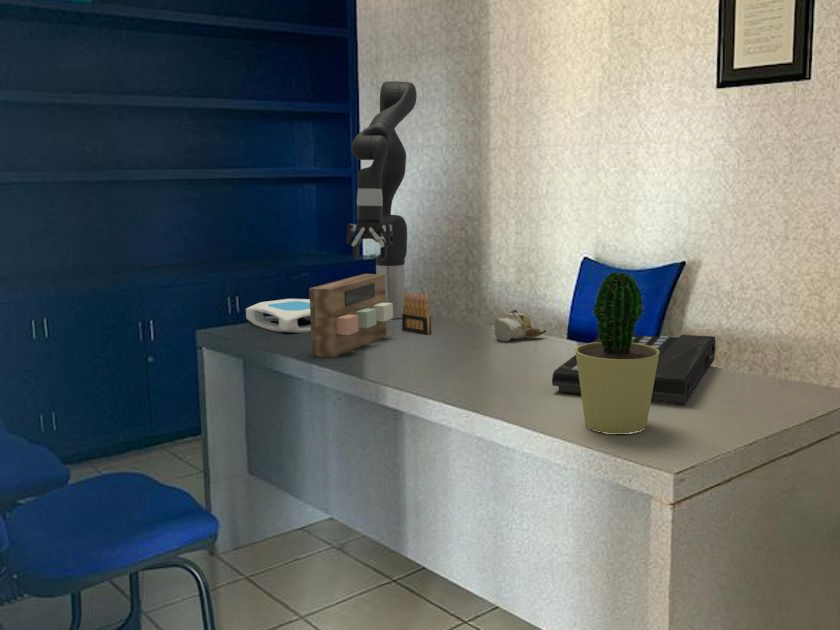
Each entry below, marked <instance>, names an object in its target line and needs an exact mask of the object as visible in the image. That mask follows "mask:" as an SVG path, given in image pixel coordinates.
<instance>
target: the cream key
mask: <svg viewBox="0 0 840 630" xmlns="http://www.w3.org/2000/svg"><path fill="white" fill-rule="evenodd" d="M372 309H376V321H383V322H384V321H386V322H387V321H389V320H393V319H392V318H393V303H382V302H379V303H376V304H373V305H372Z"/></svg>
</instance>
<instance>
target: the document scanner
mask: <svg viewBox="0 0 840 630" xmlns="http://www.w3.org/2000/svg"><path fill="white" fill-rule="evenodd" d="M264 314H268V315H269V316H265V315H264ZM245 316H246V320H248V321H249V322H250V323H251V324H253V325H254V326H256V327H260V328H262V329H266V330H269V331H272V332H278V333H290V334H291V333H292V334H293V333H294V334H296V333H297V334H303V333H309V332H310V333H311V324H307V325H299V323H298V320H300V318H306V319H307V320H306V319H305V320H306V321H309V320H310V322H311V318H310V298H308V299H307V298H284V299H276V300H269V301H261V302H258V303H256V304H253V305H251V306H249V307H246V308H245ZM270 321H275V322H278V323H275V322H270Z"/></svg>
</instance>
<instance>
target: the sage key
mask: <svg viewBox="0 0 840 630" xmlns="http://www.w3.org/2000/svg"><path fill="white" fill-rule="evenodd" d="M355 315H358V325H359V328H369V327H371V326H374V325H376V309H370V308H361V309H358V310H355Z"/></svg>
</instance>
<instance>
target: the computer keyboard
mask: <svg viewBox="0 0 840 630" xmlns="http://www.w3.org/2000/svg"><path fill="white" fill-rule="evenodd" d="M600 340H601V339H600V337H599V336H598V337H596V339H595V340H593V341H592V342H591V343H596V342H597V341H598V342H601V341H600ZM632 341H633V342H632V343H637V344H643V345H648V346H651V347H654V348H656V349H658V350H659V358H658V364H657V369H656V375H655V380H654V386H653V391H652V397H651V402H653V401H657V402H656V403H663V402H666V403H665V404H673V403H678V404H677V405H683V404H686V405H687V403H688V402H689V400H690V399H691V397H692V396H691V394H692V393H693V394H694V392H695V391H696V389H697V388H698V386H699V385H698V383H699V382H700V383H701V381H702V380H701V379H703V378H704V377H705V375H706V374H707V372H708V371H709V369H710V367H711V366H712V365H713V362H714V361H715V355H716V348H717V347H716V336H713V335H693V334H681V335H680V336H678V337H677V336H676V337H675V336H670V335H661V336H655V335H654V336H653V335H652V336H651V335H635V334H633V337H632ZM708 368H709V369H708ZM707 370H708V371H707ZM706 371H707V372H706ZM705 373H706V374H705ZM704 374H705V375H704ZM703 376H704V377H703ZM702 377H703V378H702ZM700 380H701V381H700ZM551 383H552V384H551V385H552V386H554V387H558V392H559V393H568V394H576V395H577V394H578V395H581V388H580V381H579V373H578V366H577V359H576V354H575V355H573V356H572V357H571V358H569V359H568V360H566V362H564V363H563V364H561V365H560V366H559V367H557V368H556V369H554V370H553V373H552V377H551ZM700 383H699V384H700ZM697 385H698V386H697ZM696 387H697V388H696ZM695 388H696V389H695ZM694 390H695V391H694ZM693 391H694V392H693ZM693 394H692V395H693ZM690 396H691V397H690ZM689 398H690V399H689ZM688 399H689V400H688ZM687 401H688V402H687ZM686 402H687V403H686Z"/></svg>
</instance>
